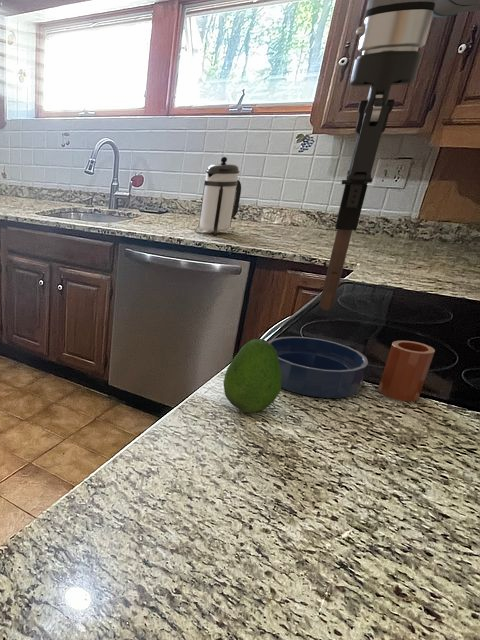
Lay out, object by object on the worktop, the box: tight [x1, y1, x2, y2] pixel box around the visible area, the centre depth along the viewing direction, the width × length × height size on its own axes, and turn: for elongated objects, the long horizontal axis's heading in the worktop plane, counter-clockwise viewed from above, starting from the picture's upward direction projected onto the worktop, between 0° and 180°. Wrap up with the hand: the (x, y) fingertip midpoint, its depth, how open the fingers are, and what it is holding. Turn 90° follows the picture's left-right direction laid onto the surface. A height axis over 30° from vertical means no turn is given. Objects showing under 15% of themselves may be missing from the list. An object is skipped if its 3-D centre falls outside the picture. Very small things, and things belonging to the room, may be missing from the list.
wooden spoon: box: [318, 229, 353, 311], centre depth 81 cm, size 3×2×24 cm, turn 149°
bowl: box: [268, 336, 369, 399], centre depth 90 cm, size 15×15×6 cm
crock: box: [377, 340, 436, 402], centre depth 84 cm, size 5×6×9 cm
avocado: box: [223, 338, 282, 413], centre depth 80 cm, size 8×8×12 cm
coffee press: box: [194, 156, 242, 237], centre depth 216 cm, size 17×16×30 cm
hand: (345, 227), depth 81 cm, fingers closed on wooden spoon, 2 cm apart
